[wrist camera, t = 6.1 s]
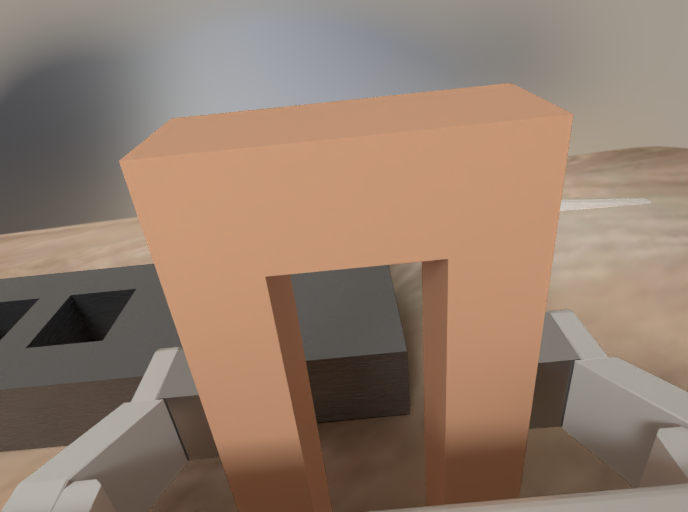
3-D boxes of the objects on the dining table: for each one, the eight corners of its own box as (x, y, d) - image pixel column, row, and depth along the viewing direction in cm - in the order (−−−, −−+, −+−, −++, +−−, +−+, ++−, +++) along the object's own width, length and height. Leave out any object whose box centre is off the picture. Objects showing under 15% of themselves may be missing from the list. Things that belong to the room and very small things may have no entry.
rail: (-180, 347, 25) (-219, 301, 23) (386, 292, 24) (382, 240, 23) (-378, 486, 18) (-451, 432, 16) (409, 414, 17) (407, 350, 16)
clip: (280, 519, 14) (171, 118, 8) (479, 502, 14) (510, 83, 8) (272, 610, 12) (119, 160, 6) (505, 591, 12) (573, 114, 6)
